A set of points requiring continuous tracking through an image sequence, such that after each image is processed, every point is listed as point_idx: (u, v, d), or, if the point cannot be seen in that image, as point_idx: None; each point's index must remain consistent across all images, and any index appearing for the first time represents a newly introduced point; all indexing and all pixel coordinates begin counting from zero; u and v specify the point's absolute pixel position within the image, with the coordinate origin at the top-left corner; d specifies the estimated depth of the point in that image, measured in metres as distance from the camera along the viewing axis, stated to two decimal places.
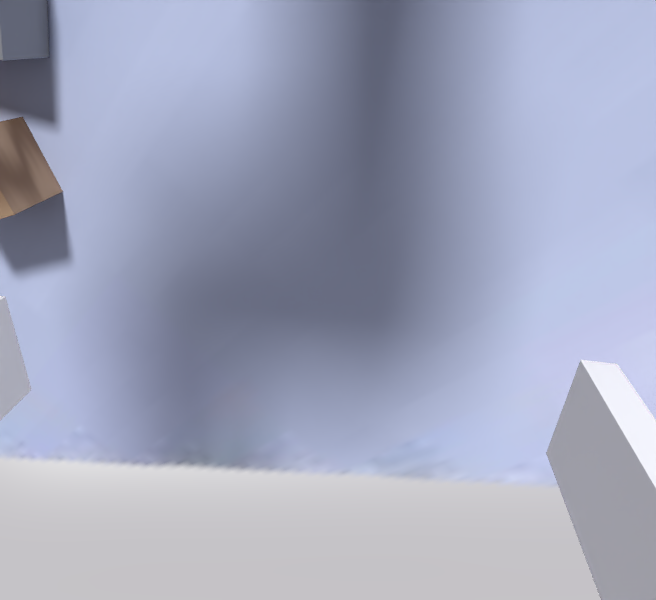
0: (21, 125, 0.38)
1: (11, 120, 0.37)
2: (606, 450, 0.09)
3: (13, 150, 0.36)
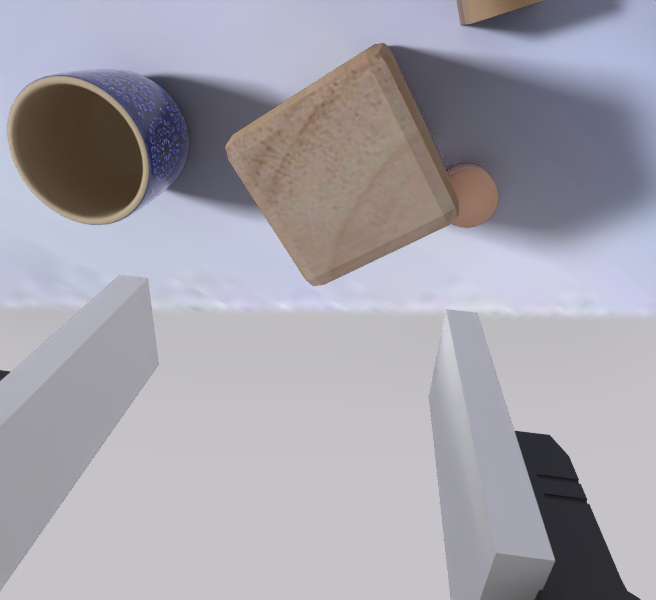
0: None
1: None
2: (450, 379, 0.11)
3: None
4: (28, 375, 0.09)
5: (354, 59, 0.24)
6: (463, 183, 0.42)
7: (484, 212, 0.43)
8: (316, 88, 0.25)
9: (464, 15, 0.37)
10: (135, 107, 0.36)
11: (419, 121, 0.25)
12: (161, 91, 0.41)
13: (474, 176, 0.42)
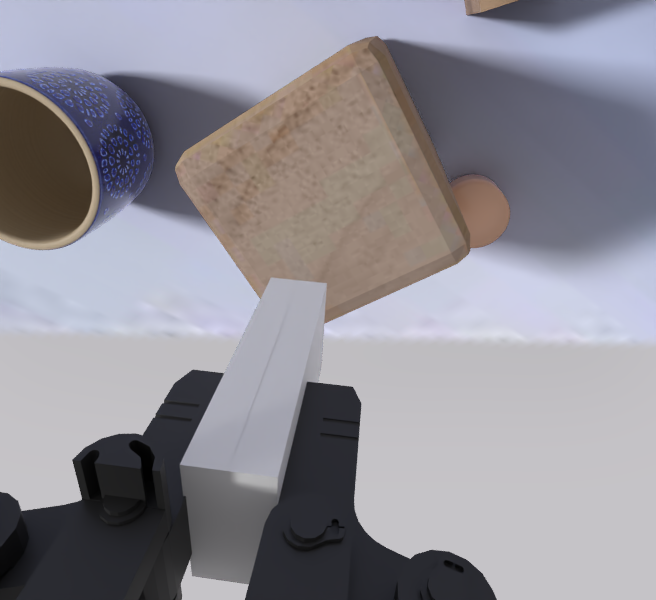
0: None
1: None
2: None
3: None
4: (243, 374, 0.09)
5: (336, 55, 0.19)
6: (469, 198, 0.37)
7: (493, 231, 0.38)
8: (287, 92, 0.19)
9: (471, 3, 0.31)
10: (81, 113, 0.30)
11: (420, 135, 0.20)
12: (119, 93, 0.35)
13: (482, 190, 0.37)
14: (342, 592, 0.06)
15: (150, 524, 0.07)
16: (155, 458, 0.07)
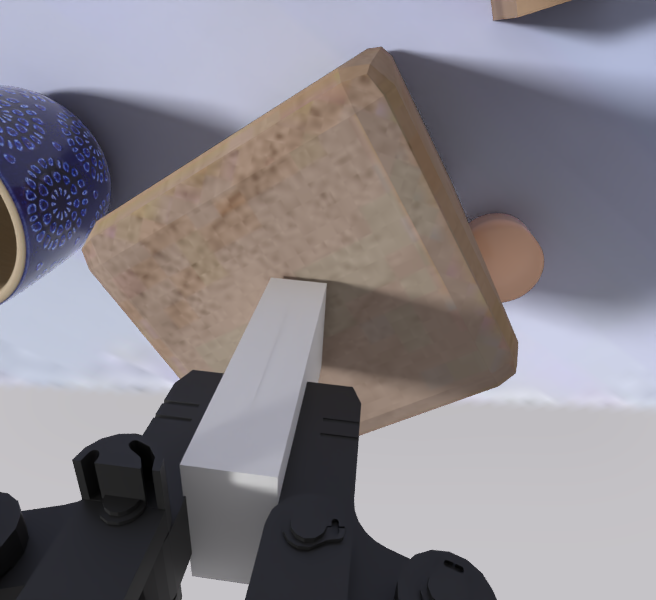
0: None
1: None
2: None
3: None
4: (243, 374, 0.09)
5: (317, 85, 0.12)
6: (494, 245, 0.30)
7: (522, 283, 0.31)
8: (241, 142, 0.12)
9: (503, 5, 0.24)
10: (0, 147, 0.23)
11: (449, 205, 0.13)
12: (62, 116, 0.29)
13: (509, 235, 0.30)
14: (342, 592, 0.06)
15: (150, 524, 0.07)
16: (155, 458, 0.07)
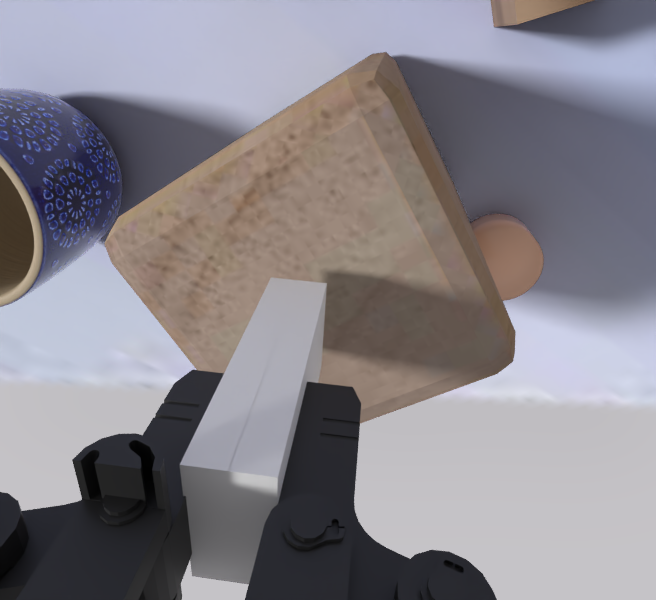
0: None
1: None
2: None
3: None
4: (243, 374, 0.09)
5: (327, 89, 0.13)
6: (495, 244, 0.31)
7: (522, 281, 0.32)
8: (256, 142, 0.13)
9: (503, 12, 0.25)
10: (19, 148, 0.24)
11: (449, 202, 0.14)
12: (76, 118, 0.29)
13: (510, 235, 0.31)
14: (342, 592, 0.06)
15: (150, 524, 0.07)
16: (155, 458, 0.07)
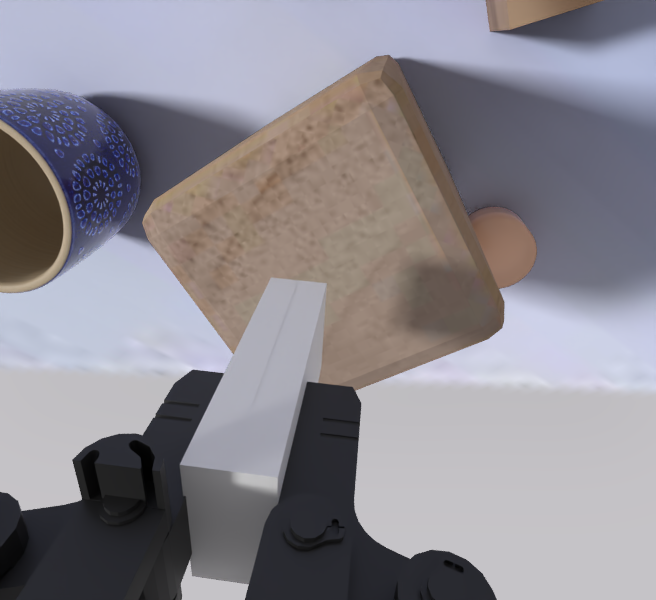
0: None
1: None
2: None
3: None
4: (243, 374, 0.09)
5: (340, 87, 0.15)
6: (491, 235, 0.33)
7: (517, 270, 0.34)
8: (278, 132, 0.15)
9: (497, 18, 0.27)
10: (51, 143, 0.26)
11: (445, 185, 0.16)
12: (100, 116, 0.32)
13: (505, 226, 0.33)
14: (342, 592, 0.06)
15: (150, 524, 0.07)
16: (155, 458, 0.07)
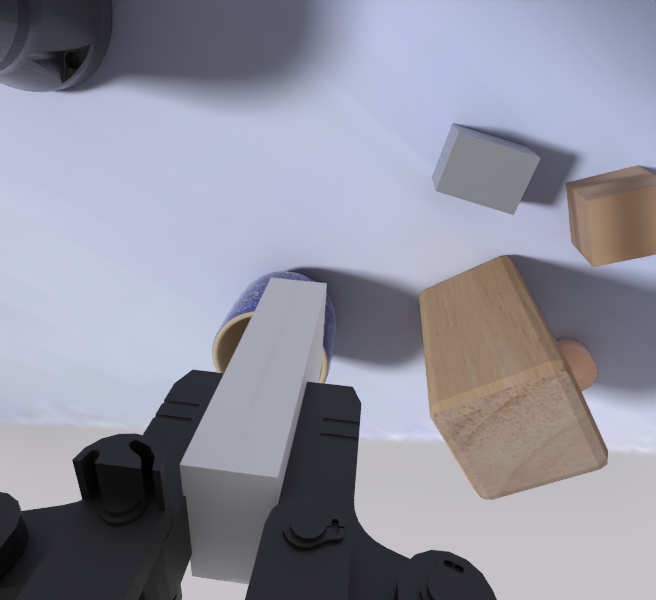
0: (574, 183, 0.45)
1: (571, 186, 0.44)
2: None
3: (601, 184, 0.43)
4: (243, 374, 0.09)
5: (542, 367, 0.33)
6: (568, 362, 0.51)
7: (584, 383, 0.52)
8: (511, 384, 0.33)
9: (581, 248, 0.45)
10: None
11: (585, 404, 0.34)
12: None
13: (578, 357, 0.51)
14: (342, 592, 0.06)
15: (150, 524, 0.07)
16: (155, 458, 0.07)
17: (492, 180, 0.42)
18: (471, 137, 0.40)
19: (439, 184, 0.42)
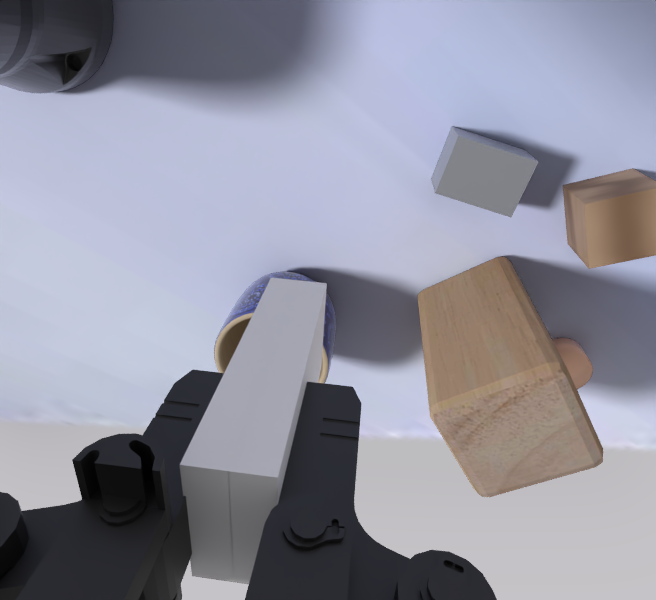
0: (571, 185, 0.46)
1: (568, 189, 0.45)
2: None
3: (597, 187, 0.43)
4: (243, 374, 0.09)
5: (540, 368, 0.34)
6: (564, 361, 0.52)
7: (579, 381, 0.53)
8: (509, 385, 0.34)
9: (577, 250, 0.46)
10: None
11: (582, 404, 0.35)
12: None
13: (573, 356, 0.51)
14: (342, 592, 0.06)
15: (150, 524, 0.07)
16: (155, 458, 0.07)
17: (490, 183, 0.42)
18: (470, 140, 0.41)
19: (438, 186, 0.43)
